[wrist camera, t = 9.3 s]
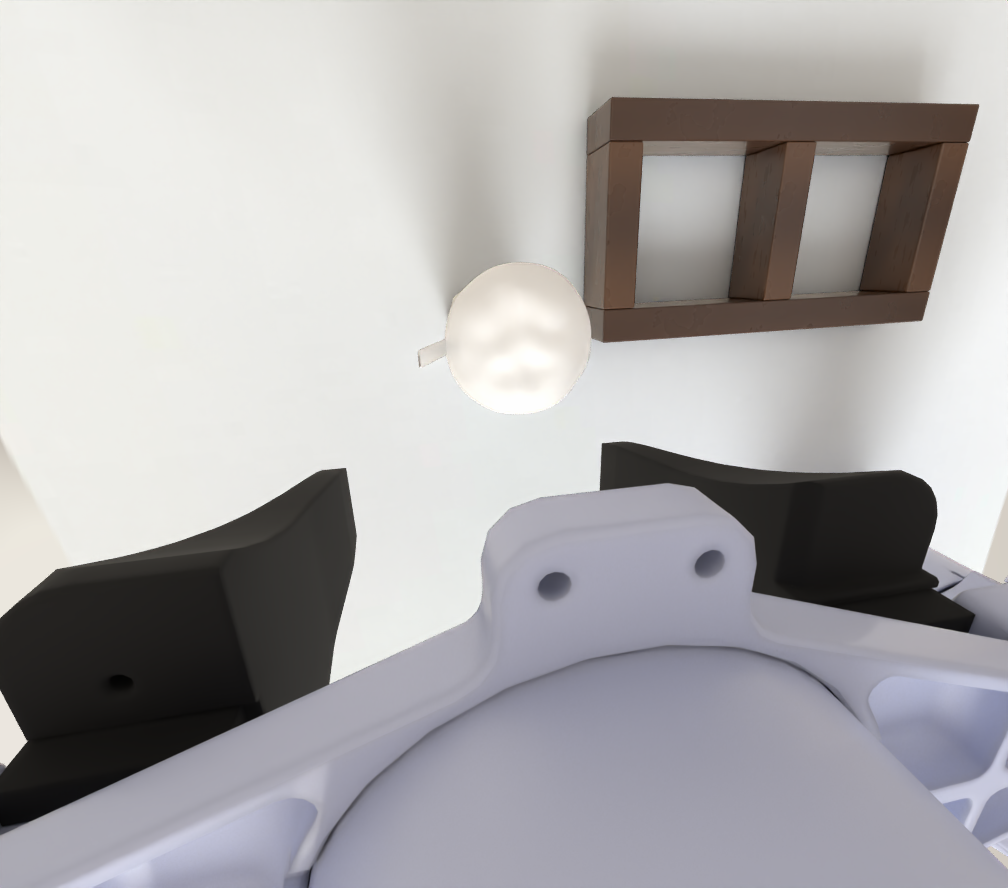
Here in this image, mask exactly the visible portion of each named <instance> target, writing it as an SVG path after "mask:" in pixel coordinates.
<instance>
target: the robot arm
mask: <svg viewBox="0 0 1008 888" xmlns="http://www.w3.org/2000/svg"><path fill="white" fill-rule="evenodd" d="M936 520H937V502H936V498H935V495H934V493H933V491H932V489H931V487H930V486H929V485H928V484H927V483H926V482H925V481H924V480H923V479H920V478H918V477H916V476H913V475H911V474H909V473H906V472H904V471H902V470H892V471H872V472H853V473H798V472H781V471H768V470H758V469H749V468H743V467H736V466H730V465H724V464H718V463H713V462H709V461H704V460H700V459H695V458H691V457H687V456H683V455H679V454H676V453H672V452H668V451H665V450H661V449H657V448H653V447H650V446H646V445H642V444H637V443H632V442H612V443H602V453H601V475H600V491H594V492H585V493H576V494H567V495H558V496H550V497H541V498H538V499H535V500H532V501H529V502H527V503H524V504H521V505H518V506H515V507H513V508H510V509H509V510H508V511H507V512H506V513H505V514H504V515H503V516H502V517H501V518H500V519H499V520H498V521H497V522H496V523H495V524H494V526H493V527H492V528H491V529H490V530H489V531H488V533H487V537H486V541H485V545H484V549H483V553H482V557H481V570H482V598H481V603H480V606H479V608H478V610H477V612H476V613H475V614H474V615H473V616H472V617H471V618H470V619H469V620H468V621H467V622H464V623H462V624H460V625H458V626H456V627H453V628H451V629H449V630H447V631H445V632H443V633H440V634H438V635H436V636H434V637H432V638H429V639H427V640H425V641H423V642H421V643H419V644H416V645H414V646H412V647H410V648H408V649H405V650H403V651H401V652H399V653H397V654H395V655H392V656H390V657H388V658H386V659H384V660H382V661H379V662H377V663H375V664H373V665H371V666H368V667H366V668H364V669H362V670H360V671H358V672H355V673H353V674H351V675H349V676H347V677H344V678H342V679H340V680H338V681H336V682H334V683H331V684H329V682H330V674H331V666H332V658H333V651H334V644H335V639H336V634H337V630H338V626H339V622H340V618H341V614H342V610H343V606H344V602H345V599H346V595H347V591H348V587H349V583H350V579H351V575H352V571H353V566H354V559H355V549H356V537H357V534H356V528H355V522H354V515H353V509H352V503H351V496H350V490H349V484H348V478H347V471H346V468H341V469H331V470H322V471H319V472H317V473H315V474H313V475H311V476H310V477H308V478H307V479H305V480H303V481H302V482H300V483H299V484H297V485H296V486H294V487H293V488H291V489H290V490H288V491H286V492H285V493H283V494H282V495H280V496H278V497H277V498H275V499H273V500H271V501H270V502H268V503H266V504H264V505H263V506H261V507H259V508H258V509H256V510H254V511H252V512H250V513H248V514H246V515H244V516H242V517H240V518H238V519H236V520H233V521H231V522H229V523H227V524H225V525H222V526H220V527H217V528H215V529H212V530H209V531H207V532H204V533H201V534H198V535H195V536H193V537H190V538H187V539H184V540H182V541H178V542H175V543H172V544H169V545H165V546H162V547H158V548H155V549H151V550H147V551H143V552H139V553H135V554H131V555H127V556H123V557H119V558H114V559H108V560H103V561H98V562H93V563H88V564H83V565H78V566H73V567H67V568H62V569H57V570H55V571H54V572H53V573H52V574H50V576H48V577H47V578H46V579H45V580H44V581H43V582H41V583H40V584H39V585H38V586H37V587H35V588H34V589H33V590H32V591H31V592H30V593H28V594H27V595H26V596H25V597H24V598H22V599H21V600H20V601H19V602H18V603H16V604H15V605H14V606H13V607H12V608H11V609H10V610H9V611H8V612H7V613H5V614H4V615H3V616H2V617H1V618H0V691H1V692H2V694H3V696H4V698H5V700H6V702H7V704H8V706H9V708H10V709H11V711H12V713H13V715H14V717H15V719H16V721H17V723H18V725H19V726H20V728H21V730H22V732H23V734H24V736H25V738H26V740H27V741H28V742H27V743H26V744H25V745H24V747H23V748H22V749H21V750H20V751H19V753H18V754H17V755H16V756H15V758H14V759H13V760H12V761H11V762H10V764H9V765H8V766H7V767H6V766H5V765H4V764H2V763H0V888H1008V869H1007V868H1006V867H1005V866H1004V865H1003V864H1002V863H1001V862H1000V861H999V860H998V859H997V858H996V857H995V856H994V855H993V854H992V853H991V852H990V851H989V850H988V849H987V848H988V847H990V846H992V847H993V848H995V849H996V850H998V851H999V852H1001V853H1002V854H1004V855H1006V856H1007V857H1008V576H1007V577H1006V579H1005V580H1004V581H1005V582H1006V583H1004V584H1002V583H999V582H997V581H995V580H993V579H991V578H989V577H987V576H985V575H983V574H980V573H978V572H976V571H973V570H971V569H969V568H967V567H965V566H964V565H962V564H960V563H958V562H956V561H954V560H952V559H950V558H948V557H947V556H945V555H943V554H941V553H939V552H937V551H935V550H933V549H931V548H930V547H929V545H930V542H931V539H932V536H933V533H934V530H935V525H936Z"/></svg>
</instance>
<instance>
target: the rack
mask: <svg viewBox="0 0 1008 888" xmlns="http://www.w3.org/2000/svg"><path fill="white" fill-rule="evenodd" d="M978 109H979V104H938V103H887V102H835V101H783V100H731V99H679V98H627V97H612V98H610V99H609V100H608V101H607V102H606V103H605V104H604V105H602V106H601V107H600V108H599V109H598V110H597V111H595V112H594V113H593V114H592V115H591V116H590V117H589V118H588V123H587V155H588V156H587V178H586V227H585V276H584V304H585V306H586V309H587V312H588V315H589V319H590V325H591V338H592V339H595V340H598V341H601V342H603V343H608V342H622V341H637V340H652V339H666V338H681V337H695V336H710V335H724V334H739V333H754V332H768V331H783V330H797V329H812V328H827V327H841V326H856V325H870V324H885V323H900V322H914V321H922V320H923V316H924V312H925V309H926V305H927V301H928V297H929V292H928V291H929V290H930V289H931V285H932V282H933V278H934V274H935V270H936V266H937V263H938V259H939V255H940V251H941V247H942V244H943V240H944V236H945V232H946V228H947V225H948V221H949V217H950V213H951V210H952V206H953V202H954V198H955V194H956V191H957V187H958V183H959V179H960V175H961V172H962V168H963V164H964V160H965V156H966V153H967V149H968V145H969V144H968V143H967V142H969V141H970V139H971V135H972V131H973V127H974V124H975V120H976V116H977V112H978ZM815 155H890V156H889V157H888V160H887V165H886V169H885V174H884V179H883V183H882V188H881V193H880V197H879V202H878V207H877V211H876V216H875V221H874V225H873V230H872V235H871V239H870V244H869V249H868V253H867V258H866V263H865V267H864V272H863V277H862V281H861V286H860V290H861V291H847V292H829V293H810V294H792V288H793V282H794V276H795V270H796V264H797V258H798V252H799V246H800V240H801V234H802V228H803V222H804V216H805V210H806V204H807V198H808V192H809V186H810V180H811V174H812V168H813V162H814V156H815ZM643 156H746V160H745V168H744V176H743V185H742V193H741V201H740V209H739V217H738V225H737V234H736V242H735V250H734V258H733V266H732V274H731V282H730V291H729V298H719V299H701V300H683V301H665V302H647V303H634V301H635V283H636V266H637V248H638V230H639V212H640V194H641V177H642V159H643ZM791 294H792V295H791Z"/></svg>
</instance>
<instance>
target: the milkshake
mask: <svg viewBox="0 0 1008 888" xmlns="http://www.w3.org/2000/svg"><path fill="white" fill-rule="evenodd" d="M590 348H591V325H590V319H589V315H588V312H587V309H586V306H585V304H584V302H583V300H582V298H581V297H580V295H579V293H578V292H577V290H576V289H575V287H574V286H573V285H572V284H571V283H570V281H569V280H568V279H567V278H565V277H564V276H563V275H562V274H560V273H559V272H557V271H555V270H554V269H552V268H549V267H547V266H544V265H540V264H535V263H525V262H515V263H506V264H501V265H497V266H495V267H492V268H490V269H488V270H486V271H485V272H483V273H482V274H480V275H479V276H477V277H476V278H475V279H474V280H472V281H471V282H470V283H469V284H468V285H467V286H466V287H465V288H464V289H463V290H462V291H460V292H459V293H458V294H457V295H455V296H454V297H453V299H452V303H451V307H450V311H449V315H448V319H447V323H446V330H445V339H444V340H441V341H439V342H437V343H434V344H432V345H429V346H427V347H425V348H422V349H420V350H419V351H418V362H419V367H420V368H422V367H424V366H426V365H428V364H430V363H432V362H434V361H436V360H438V359H440V358H442V357H444V356H446V357H447V361H448V365H449V368H450V370H451V373H452V375H453V377H454V379H455V381H456V382H457V384H458V385H459V386H460V388H461V389H462V390H463V391H464V392H465V393H466V394H467V395H468V396H469V397H470V398H471V399H473V400H474V401H475V402H477V403H478V404H480V405H482V406H483V407H485V408H487V409H490V410H492V411H495V412H499V413H504V414H529V413H535V412H539V411H542V410H545V409H548V408H550V407H552V406H554V405H556V404H557V403H559V402H560V401H561V400H563V399H564V398H565V397H566V396H567V395H568V393H569V392H570V391H571V389H572V388H573V387H574V385H575V384H576V382H577V381H578V379H579V378H580V376H581V375H582V373H583V371H584V370H585V368H586V365H587V363H588V360H589V355H590Z"/></svg>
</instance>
